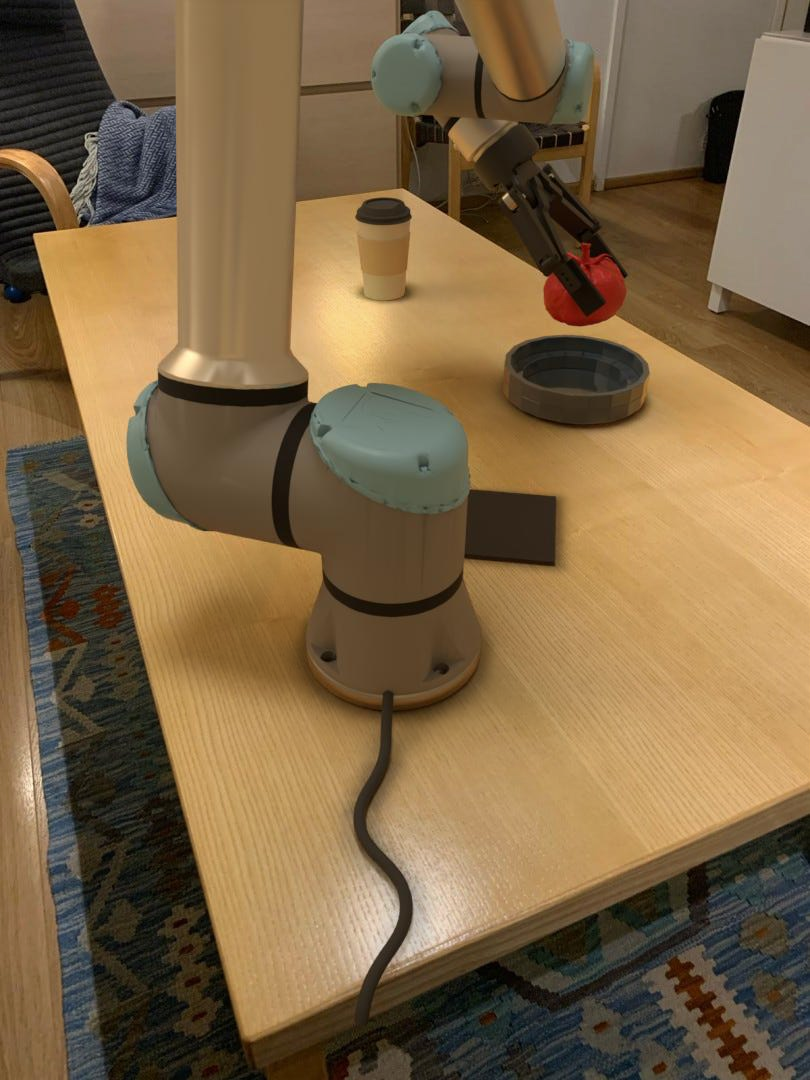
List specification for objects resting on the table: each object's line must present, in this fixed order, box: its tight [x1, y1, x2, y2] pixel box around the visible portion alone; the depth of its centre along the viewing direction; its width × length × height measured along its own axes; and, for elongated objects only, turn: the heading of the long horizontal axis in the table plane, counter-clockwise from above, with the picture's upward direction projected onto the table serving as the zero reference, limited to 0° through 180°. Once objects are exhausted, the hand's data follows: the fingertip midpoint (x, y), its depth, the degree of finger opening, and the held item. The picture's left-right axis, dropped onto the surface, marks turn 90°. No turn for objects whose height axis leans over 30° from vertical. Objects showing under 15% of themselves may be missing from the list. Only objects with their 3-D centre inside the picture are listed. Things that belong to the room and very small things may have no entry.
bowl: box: [502, 334, 651, 425], centre depth 116 cm, size 19×19×4 cm
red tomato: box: [542, 243, 628, 327], centre depth 107 cm, size 10×10×9 cm
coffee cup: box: [354, 196, 413, 301], centre depth 142 cm, size 9×9×15 cm
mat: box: [464, 488, 557, 566], centre depth 92 cm, size 12×12×1 cm
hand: (608, 295), depth 106 cm, fingers closed on red tomato, 10 cm apart
